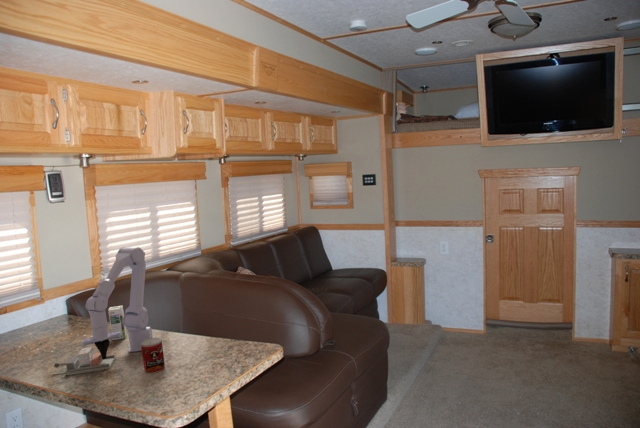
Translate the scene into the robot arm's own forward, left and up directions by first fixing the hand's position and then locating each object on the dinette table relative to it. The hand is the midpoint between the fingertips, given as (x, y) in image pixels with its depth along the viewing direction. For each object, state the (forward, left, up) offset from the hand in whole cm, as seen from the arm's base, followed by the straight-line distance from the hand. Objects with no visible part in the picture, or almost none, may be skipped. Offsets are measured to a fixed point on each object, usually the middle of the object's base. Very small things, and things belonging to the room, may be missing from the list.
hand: (104, 358), depth 202 cm
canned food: (-21, +12, -3) cm, 24 cm away
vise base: (+8, 0, -3) cm, 8 cm away
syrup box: (+1, -33, -3) cm, 33 cm away
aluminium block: (+7, 0, -2) cm, 7 cm away
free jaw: (+3, 0, -2) cm, 3 cm away
